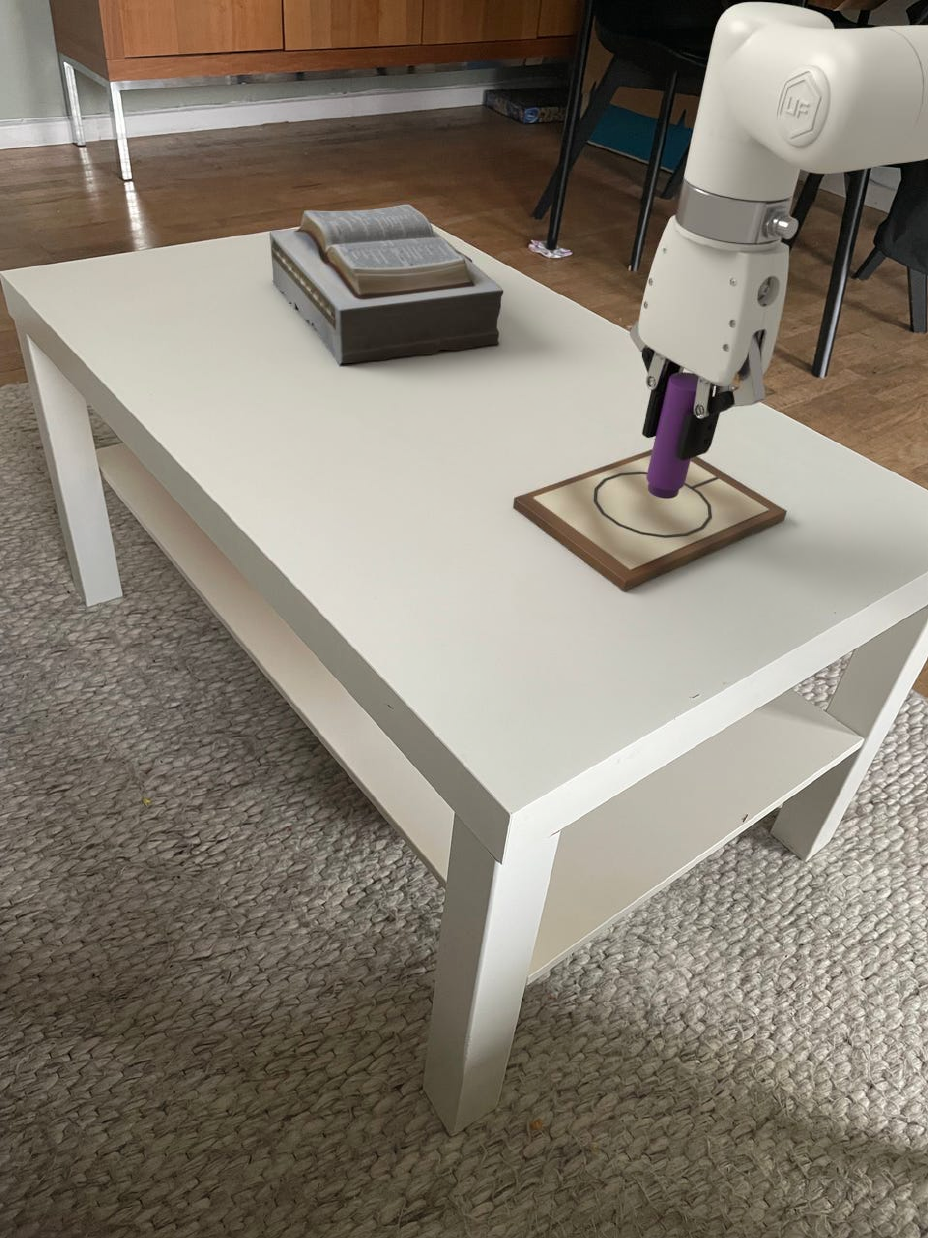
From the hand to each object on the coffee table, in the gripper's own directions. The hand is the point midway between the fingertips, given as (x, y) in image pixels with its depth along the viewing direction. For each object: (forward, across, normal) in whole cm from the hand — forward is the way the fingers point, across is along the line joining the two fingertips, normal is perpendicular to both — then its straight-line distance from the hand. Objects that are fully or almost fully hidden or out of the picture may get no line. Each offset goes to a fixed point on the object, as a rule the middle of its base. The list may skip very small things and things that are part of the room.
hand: (674, 442), depth 81 cm
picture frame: (+9, +2, -2) cm, 9 cm away
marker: (+5, 0, 0) cm, 5 cm away
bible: (+9, +49, -4) cm, 50 cm away
